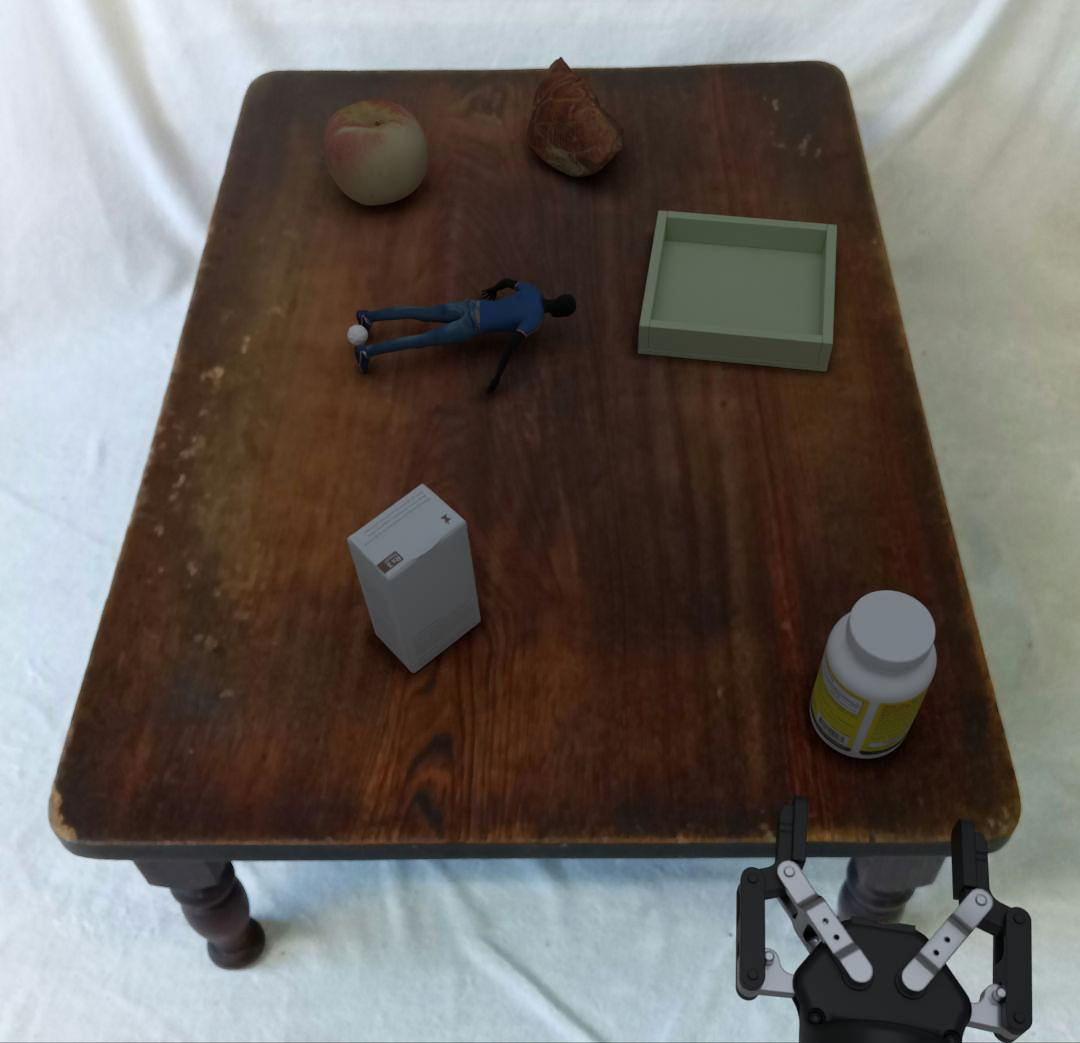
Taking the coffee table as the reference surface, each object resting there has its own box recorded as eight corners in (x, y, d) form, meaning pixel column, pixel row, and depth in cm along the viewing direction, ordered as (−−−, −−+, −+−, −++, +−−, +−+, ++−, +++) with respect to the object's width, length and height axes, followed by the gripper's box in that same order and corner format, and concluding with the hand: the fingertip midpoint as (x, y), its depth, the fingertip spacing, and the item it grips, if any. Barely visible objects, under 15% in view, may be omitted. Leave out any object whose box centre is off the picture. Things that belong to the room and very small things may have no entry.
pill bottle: (912, 684, 76) (955, 590, 67) (903, 772, 72) (947, 685, 63) (814, 663, 77) (843, 567, 68) (800, 748, 73) (829, 660, 64)
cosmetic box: (442, 584, 81) (422, 474, 72) (485, 625, 79) (471, 517, 70) (371, 638, 79) (340, 532, 69) (413, 682, 77) (388, 579, 67)
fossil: (522, 68, 111) (569, 6, 102) (601, 97, 114) (654, 39, 105) (508, 190, 107) (556, 137, 99) (591, 216, 111) (644, 167, 102)
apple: (315, 190, 107) (298, 112, 100) (395, 148, 110) (383, 70, 103) (372, 238, 103) (357, 160, 96) (453, 192, 106) (444, 115, 99)
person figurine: (358, 419, 93) (587, 383, 91) (340, 380, 89) (578, 342, 87) (363, 319, 99) (577, 283, 97) (347, 279, 95) (568, 241, 93)
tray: (830, 253, 100) (837, 224, 97) (826, 372, 92) (833, 343, 89) (656, 238, 101) (658, 209, 99) (637, 353, 94) (638, 325, 91)
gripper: (1068, 1163, 50) (1039, 803, 60) (729, 1104, 52) (752, 764, 61) (1017, 1187, 56) (997, 857, 66) (715, 1134, 58) (738, 820, 67)
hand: (879, 812), depth 64 cm, fingers open, 8 cm apart
